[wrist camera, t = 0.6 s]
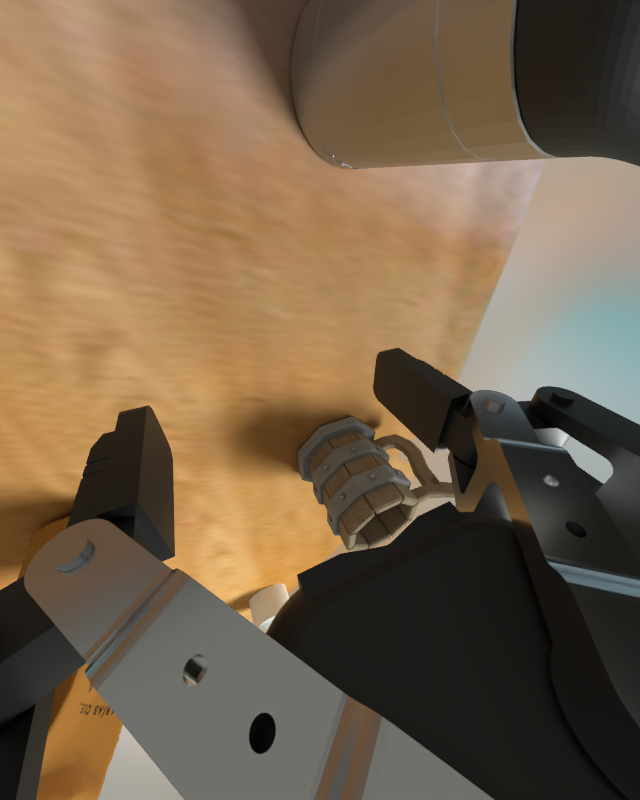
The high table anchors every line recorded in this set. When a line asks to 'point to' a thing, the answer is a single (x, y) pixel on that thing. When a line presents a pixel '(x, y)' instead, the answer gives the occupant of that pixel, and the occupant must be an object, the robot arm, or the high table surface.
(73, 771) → the coffee package
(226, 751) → the robot arm
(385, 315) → the high table surface
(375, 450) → the tankard
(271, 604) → the base with upright slab
